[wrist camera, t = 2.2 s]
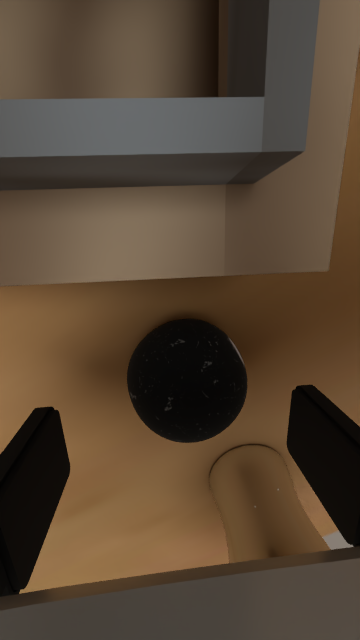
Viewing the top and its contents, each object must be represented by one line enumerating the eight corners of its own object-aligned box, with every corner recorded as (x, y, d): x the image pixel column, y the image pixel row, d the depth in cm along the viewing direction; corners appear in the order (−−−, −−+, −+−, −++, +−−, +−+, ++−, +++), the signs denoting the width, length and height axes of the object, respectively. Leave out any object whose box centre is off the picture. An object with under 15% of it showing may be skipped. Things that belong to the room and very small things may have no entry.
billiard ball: (116, 337, 15) (89, 394, 10) (202, 289, 15) (227, 319, 9) (165, 408, 17) (166, 491, 11) (243, 367, 17) (286, 433, 11)
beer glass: (304, 483, 20) (654, 1079, 6) (228, 520, 21) (373, 1134, 6) (269, 423, 18) (670, 1107, 4) (186, 466, 19) (261, 1183, 4)
